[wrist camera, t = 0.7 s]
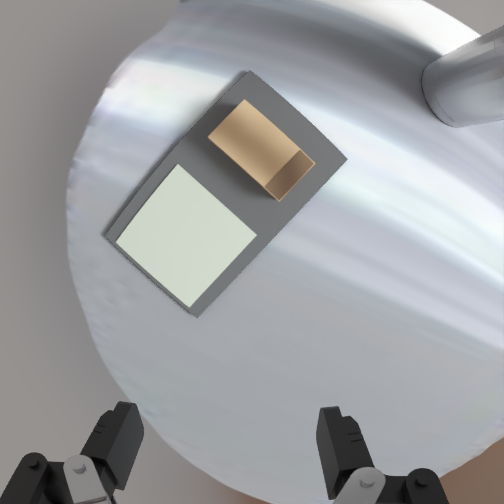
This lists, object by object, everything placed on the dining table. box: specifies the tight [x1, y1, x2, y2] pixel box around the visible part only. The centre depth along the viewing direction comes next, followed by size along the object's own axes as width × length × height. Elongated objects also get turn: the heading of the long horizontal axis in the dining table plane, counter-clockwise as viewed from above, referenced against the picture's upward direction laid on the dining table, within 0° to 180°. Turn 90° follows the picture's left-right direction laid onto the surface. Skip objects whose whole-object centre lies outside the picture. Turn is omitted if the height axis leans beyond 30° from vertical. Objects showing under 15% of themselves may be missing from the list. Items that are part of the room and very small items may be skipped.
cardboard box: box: [208, 99, 316, 202], centre depth 29 cm, size 5×9×3 cm, turn 47°
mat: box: [105, 71, 347, 318], centre depth 31 cm, size 24×14×1 cm, turn 137°
